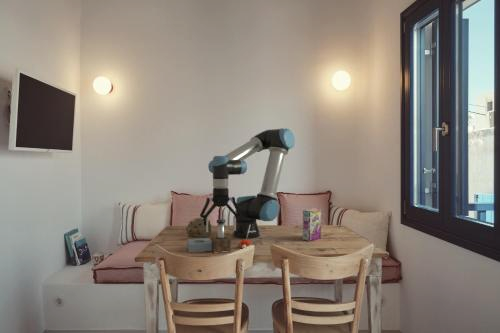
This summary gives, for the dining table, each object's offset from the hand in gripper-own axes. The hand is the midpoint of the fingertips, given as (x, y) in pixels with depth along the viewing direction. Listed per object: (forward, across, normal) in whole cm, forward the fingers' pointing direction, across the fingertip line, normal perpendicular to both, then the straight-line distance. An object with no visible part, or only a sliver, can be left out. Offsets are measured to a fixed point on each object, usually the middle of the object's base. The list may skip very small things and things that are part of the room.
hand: (220, 231), depth 166 cm
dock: (+10, -10, +5) cm, 15 cm away
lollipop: (+10, +14, +2) cm, 17 cm away
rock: (+10, -7, +40) cm, 42 cm away
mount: (+10, 0, 0) cm, 10 cm away
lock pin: (+10, 0, 0) cm, 10 cm away
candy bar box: (+10, +52, +10) cm, 54 cm away
